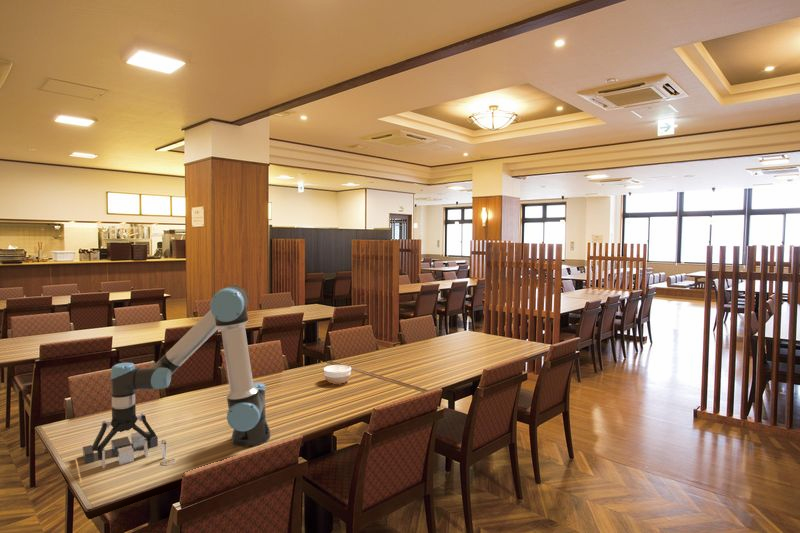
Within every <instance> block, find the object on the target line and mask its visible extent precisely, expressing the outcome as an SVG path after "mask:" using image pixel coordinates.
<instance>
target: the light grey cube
mask: <svg viewBox="0 0 800 533" xmlns="http://www.w3.org/2000/svg"><path fill="white" fill-rule="evenodd" d="M144 439H145V437H143V436H142V435H141V434H139V433H138V432H137V431H135V432H133V433H130V443H131V446H132V448H133V450H136V449H140V448H144Z"/></svg>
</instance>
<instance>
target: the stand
mask: <svg viewBox="0 0 800 533" xmlns="http://www.w3.org/2000/svg"><path fill="white" fill-rule="evenodd" d="M161 459H162V460H165V459H167V441H166V439H162V440H161ZM175 462H176V458H174V459H173V458H172V459H170V460H169V459H168V460H166V461H162V462H160V463H159V464H160V465H162V466H169V465H173V464H174V463H175Z"/></svg>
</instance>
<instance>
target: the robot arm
mask: <svg viewBox="0 0 800 533" xmlns="http://www.w3.org/2000/svg"><path fill="white" fill-rule="evenodd" d="M249 303H250V296H249V294H248V292H247V291H246V290H245V289H244V288H243V287H242V286H239V285H229V286H226V287H224V288H221V289H219V290H218V291H217V292H216V293H214V294H213V296H212V298H211V299H210V304H209V310H208V311H207V313H206V314H205V315H203V316H202V318H200V319H199V320H198V321H197V322H196V323H195V324H194V325H193V326H192V327H191V328H190V329H189V330H188V331H187V332H186V333H185V334H184V335H183V336H182V337H181V338H180V339H179V340H178V341H177V342H176V343H175V344H174V345H173V346H171V348H169V350H168V351H167V352H166V353H165V354H163V355H162V357H161V358H160V359H159V360H158V361H157V362H155V363H153V365H151V366H150V367H148V368H136V367H135V363H133V362H121V363H116V364H114V365H113V366H112V367H111V369H110V383H111V384H110V387H111V395H110V396H111V421H105V420H104V421H102V422H101V428H100V430H99V432H98V434H97V436H96V438H95V439H94V441H93V444H91V445H92V451H93V452H96V451H97V452H98V459H99V461H101V467H102V469H105V468H106V459H105V451H106V449H105V448H106V446H107V445H108V444H109V442H111V440H113V439H112V438H113V437H115V436H116V434H117V433H122V432H125V431H130V430H131V429H132V430H134V431H135V432H138V433H139V434H141V435H142V436H143V437H145V439H144V449H143V456H144V457H145V458H148V457H149V456H148V452H149V451H148V449H150V446H151V444H150V440H151V438H152V437H155V436H157V434H156V432H155V431H154V430H153V429H152V427H151V425H150V424H149V422H148V421H147V418H146V415H145V414H144V413H141V414H140V415H137V412H136V411H137V410H136V409H137V408H136V391H137V390H160V389H161V390H162V389H166V388H169V386H170V383H171V381H172V375H173V374H174V373H175V372H176V371H177V370H179V368H180V367H181V366H182V365H183V364H184V363H185V362H186V361H187V360H188V359H189V358H190V357H191V356H192V355H193V354H194V353H196V351H197V350H198V349H200V347H201V346H202V345H204V343H205V342H207V341H208V339H209V338H211V337H212V336H213V335H214V334H215V333H216V332H217V331H218V329H219V330H220V331H221V338H222V345H223V351H224V357H225V359H224V360H225V366H226V372H227V378H228V379H227V380H228V385H229V392H228V393H227V395H226V401H227V408H228V411H227V413H226V422H227V423H228V425H229V426H230V427H231V429H233V430H232V431H233V432H232V434H231V442H232V444H234V445H235V446H239V447H253V446H257V445H260V444H263V443H265V442H266V443H267V441H268V440H270V438H271V430H270V427H269V424H268V421H267V419H266V418H267V417H266V391H267V390H266V385H265V384H264V383H263V382H256V381H255V382H254V379H253V373H252V372H253V371H252V366H251V365H252V364H251V360H250V353H249V352H250V351H249V346H248V345H249V344H248V338H247V332H246V325H247V323H248V322H249V316H248V309H247V308H248V306H249ZM138 420H139V421H140V422H142V423H143V425H144V427H145V428H146V429H147V431H144V430H143V429H142V428H141V427H139V426H138V425H137V424H136V423H137V421H138ZM110 426H111V427H112V429H110V431H109V432H108V434H107V435H106V436H105V437H104V435H105V433H106V431H107V429H108V428H109V427H110ZM146 432H150V434H149V435H148V434H147V433H146ZM154 432H155V433H154ZM103 437H104V439H103ZM102 439H103V440H102ZM101 459H102V460H101Z"/></svg>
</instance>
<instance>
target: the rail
mask: <svg viewBox="0 0 800 533" xmlns="http://www.w3.org/2000/svg"><path fill="white" fill-rule="evenodd" d="M145 432H146V433H147V434H148V435H149V434H150V432H149V431H145ZM154 433H155V434H156V432H155V431H154ZM158 437H159V436H157V435H156V436H155V437H152V438H151V440H150V444H151V446H150V448H151V449H152V448H155V447H158V444H159V441H158V439H159V438H158ZM110 442H111V449H107V450H106V449H105V460H107V459H110V458H115V457H118V450H117V449H119V448H123V447H127V446H131V440H130V439H129V437H128V436H123V437H119V438H116V439H111V440H110ZM92 445H93V444H90V445H85V446H82V457H83V461H84V465H87V464H92V463H95V462H98V461H102V459H101V460H99V459H98V451H97V452H95V451H92ZM150 448H149V449H150ZM138 451H144V448H140V449H136V450H133V452H138Z"/></svg>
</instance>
